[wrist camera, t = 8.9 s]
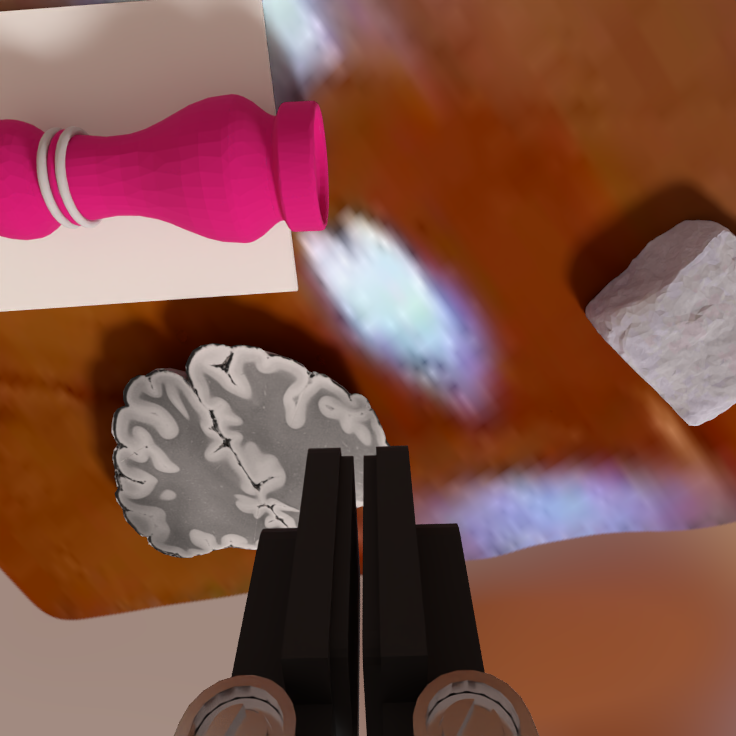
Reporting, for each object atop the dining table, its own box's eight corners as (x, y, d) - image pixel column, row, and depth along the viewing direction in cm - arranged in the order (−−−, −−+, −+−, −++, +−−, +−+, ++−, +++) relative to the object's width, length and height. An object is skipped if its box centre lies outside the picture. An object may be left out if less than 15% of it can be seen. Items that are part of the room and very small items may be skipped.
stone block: (678, 193, 40) (565, 315, 42) (732, 203, 36) (603, 338, 37) (775, 309, 44) (669, 415, 46) (834, 330, 40) (715, 447, 42)
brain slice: (319, 279, 41) (316, 297, 38) (418, 477, 48) (421, 504, 45) (57, 389, 44) (39, 413, 41) (188, 558, 52) (179, 587, 49)
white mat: (-130, 21, 33) (-136, 22, 33) (260, -8, 33) (259, -9, 32) (-19, 310, 41) (-23, 313, 40) (297, 287, 40) (297, 290, 40)
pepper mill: (325, 98, 35) (-31, 116, 36) (307, 79, 28) (-132, 102, 29) (332, 233, 37) (-5, 247, 38) (318, 246, 30) (-93, 263, 31)
